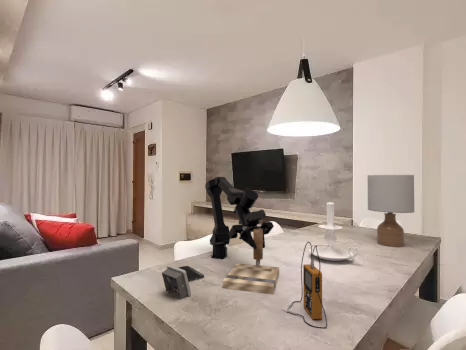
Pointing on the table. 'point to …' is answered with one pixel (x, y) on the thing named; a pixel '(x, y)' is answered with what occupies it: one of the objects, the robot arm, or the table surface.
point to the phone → (192, 273)
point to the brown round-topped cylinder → (258, 245)
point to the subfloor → (252, 278)
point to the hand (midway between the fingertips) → (260, 248)
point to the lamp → (391, 204)
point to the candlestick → (332, 240)
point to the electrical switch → (176, 282)
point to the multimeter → (311, 290)
